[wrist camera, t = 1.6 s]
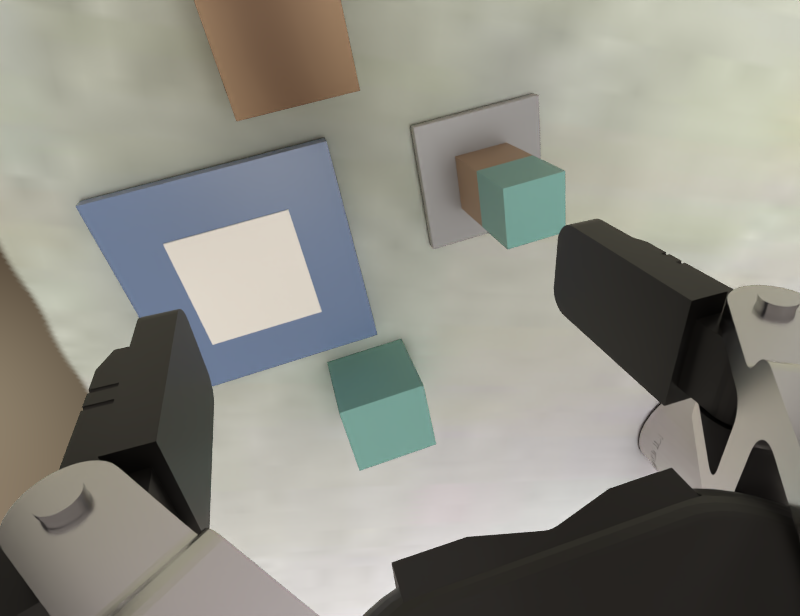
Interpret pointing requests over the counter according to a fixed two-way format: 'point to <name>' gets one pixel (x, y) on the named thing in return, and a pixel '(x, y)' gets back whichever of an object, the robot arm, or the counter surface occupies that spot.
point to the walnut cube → (279, 52)
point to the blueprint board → (241, 257)
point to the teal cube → (381, 404)
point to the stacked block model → (488, 175)
